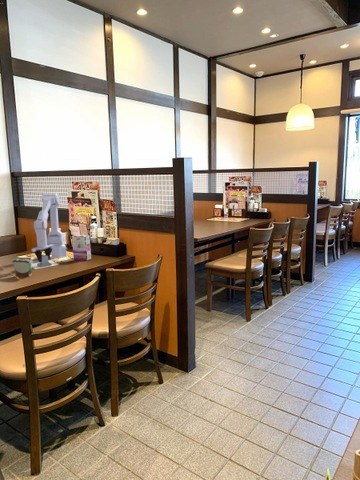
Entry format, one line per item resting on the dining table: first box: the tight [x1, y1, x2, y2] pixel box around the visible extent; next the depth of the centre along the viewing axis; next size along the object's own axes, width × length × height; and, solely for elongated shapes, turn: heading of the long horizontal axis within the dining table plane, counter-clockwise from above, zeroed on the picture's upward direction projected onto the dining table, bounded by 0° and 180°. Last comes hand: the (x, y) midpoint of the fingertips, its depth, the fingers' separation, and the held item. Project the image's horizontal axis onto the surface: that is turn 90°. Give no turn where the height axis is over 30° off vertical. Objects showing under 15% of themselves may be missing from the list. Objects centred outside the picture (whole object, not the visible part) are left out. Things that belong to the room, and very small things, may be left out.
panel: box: [31, 258, 60, 270], centre depth 225 cm, size 15×24×2 cm, turn 41°
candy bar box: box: [71, 234, 92, 261], centre depth 233 cm, size 11×5×16 cm, turn 68°
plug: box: [40, 254, 49, 265], centre depth 219 cm, size 4×4×7 cm
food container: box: [12, 256, 33, 278], centre depth 200 cm, size 12×6×10 cm, turn 71°
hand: (44, 260), depth 219 cm, fingers closed on plug, 5 cm apart
